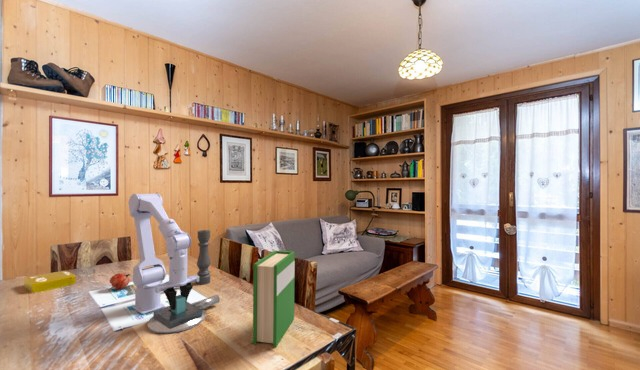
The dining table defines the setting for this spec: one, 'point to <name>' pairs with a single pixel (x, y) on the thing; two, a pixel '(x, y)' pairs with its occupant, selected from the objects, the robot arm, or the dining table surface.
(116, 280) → the pomegranate
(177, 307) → the teal rectangular prism
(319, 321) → the dining table surface
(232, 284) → the dining table surface
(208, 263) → the candle holder
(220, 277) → the dining table surface
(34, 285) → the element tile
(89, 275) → the dining table surface
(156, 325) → the rosette bracket
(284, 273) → the hardback book
